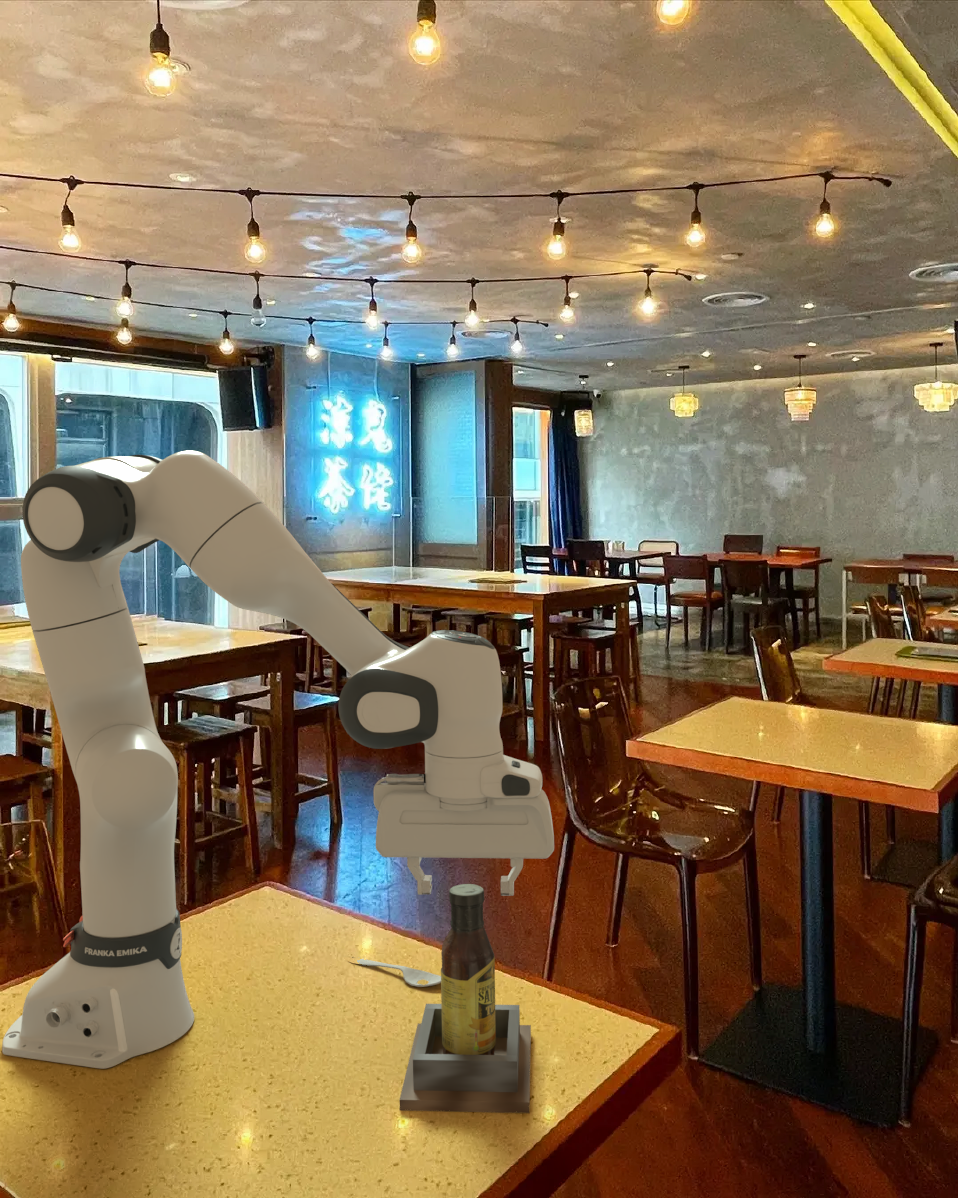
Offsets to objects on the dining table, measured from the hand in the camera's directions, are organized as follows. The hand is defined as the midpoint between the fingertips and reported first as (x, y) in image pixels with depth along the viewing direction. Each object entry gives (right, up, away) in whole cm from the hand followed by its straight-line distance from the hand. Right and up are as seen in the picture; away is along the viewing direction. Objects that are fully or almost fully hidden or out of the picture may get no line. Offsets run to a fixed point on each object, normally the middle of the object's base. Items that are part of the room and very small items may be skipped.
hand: (466, 893), depth 111 cm
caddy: (0, -21, +2) cm, 21 cm away
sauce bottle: (0, -20, +2) cm, 20 cm away
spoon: (-12, -20, +27) cm, 36 cm away
